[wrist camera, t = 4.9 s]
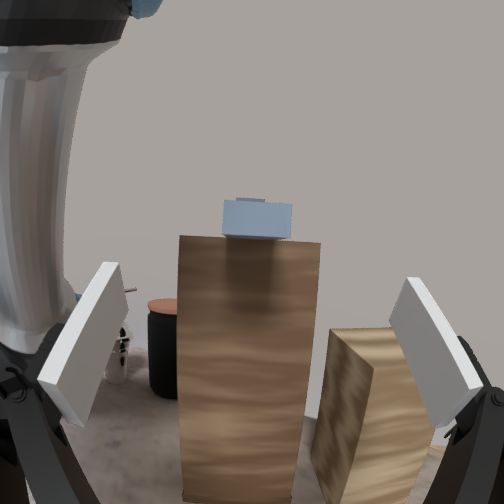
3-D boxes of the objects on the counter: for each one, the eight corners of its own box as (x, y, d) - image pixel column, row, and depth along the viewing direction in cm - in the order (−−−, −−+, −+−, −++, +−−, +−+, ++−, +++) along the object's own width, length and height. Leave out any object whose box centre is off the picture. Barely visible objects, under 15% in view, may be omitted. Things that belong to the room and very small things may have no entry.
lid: (290, 237, 18) (293, 165, 18) (222, 234, 18) (226, 160, 18) (263, 242, 38) (264, 206, 38) (230, 240, 38) (232, 204, 38)
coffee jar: (191, 376, 65) (192, 298, 65) (210, 397, 56) (212, 308, 56) (144, 381, 59) (142, 298, 59) (157, 404, 50) (154, 310, 50)
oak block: (403, 506, 24) (454, 358, 23) (333, 521, 23) (374, 368, 23) (367, 451, 37) (393, 327, 37) (310, 457, 37) (329, 328, 36)
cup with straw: (103, 370, 61) (99, 283, 61) (141, 374, 62) (139, 286, 62) (91, 385, 53) (85, 288, 52) (133, 390, 54) (129, 292, 54)
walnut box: (290, 504, 27) (323, 243, 26) (183, 501, 26) (176, 235, 26) (277, 441, 41) (293, 244, 41) (195, 438, 41) (198, 238, 40)
